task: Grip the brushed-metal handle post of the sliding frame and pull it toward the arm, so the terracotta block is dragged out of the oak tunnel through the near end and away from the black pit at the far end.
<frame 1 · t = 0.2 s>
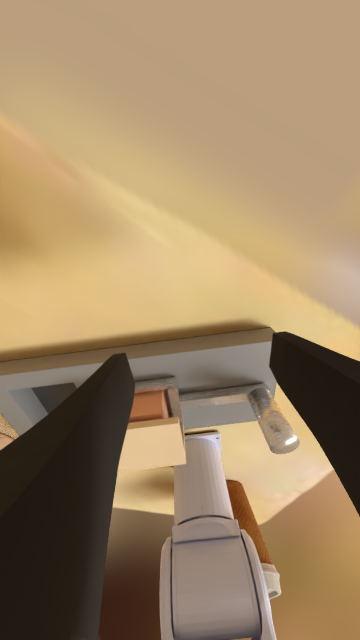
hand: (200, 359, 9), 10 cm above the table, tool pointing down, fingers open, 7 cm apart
terracotta block: (143, 401, 21), point 2 cm above the table, touching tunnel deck
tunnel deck: (146, 384, 23), on the table
disposable coffee cup: (226, 487, 36), on the table
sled: (188, 422, 18), point 6 cm above the table, slide at 0.0 cm
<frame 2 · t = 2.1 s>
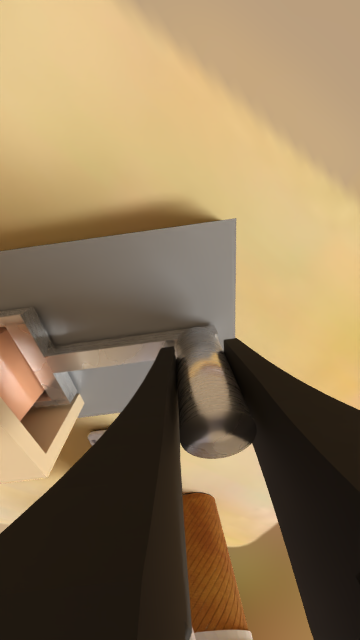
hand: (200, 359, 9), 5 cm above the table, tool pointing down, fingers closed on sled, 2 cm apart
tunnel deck: (23, 339, 14), on the table
disposable coffee cup: (193, 500, 27), on the table
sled: (37, 392, 8), point 6 cm above the table, slide at 0.0 cm, touching gripper
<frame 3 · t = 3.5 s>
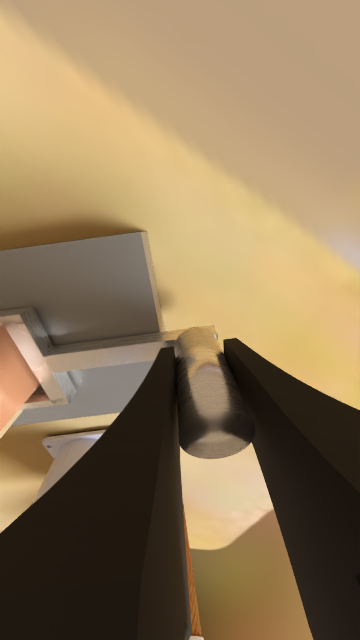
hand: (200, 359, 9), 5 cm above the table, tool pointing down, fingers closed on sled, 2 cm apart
disposable coffee cup: (162, 504, 27), on the table
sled: (36, 391, 8), point 6 cm above the table, slide at -4.5 cm, touching gripper, terracotta block
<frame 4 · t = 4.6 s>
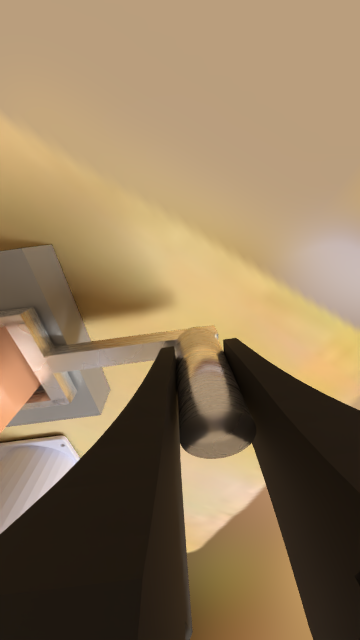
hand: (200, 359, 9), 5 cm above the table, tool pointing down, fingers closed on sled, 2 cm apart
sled: (37, 391, 8), point 6 cm above the table, slide at -10.2 cm, touching gripper
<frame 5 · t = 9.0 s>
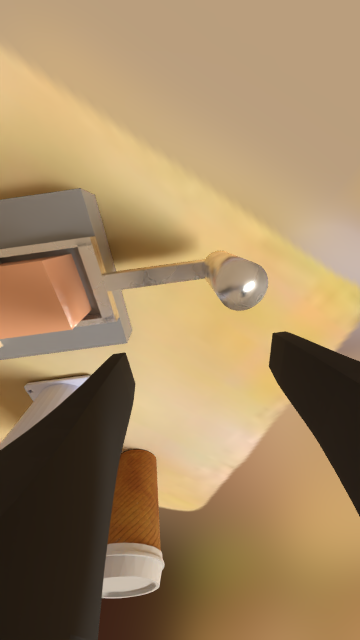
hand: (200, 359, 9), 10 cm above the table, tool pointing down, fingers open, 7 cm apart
terracotta block: (51, 287, 15), point 2 cm above the table, touching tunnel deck
disposable coffee cup: (137, 458, 30), on the table
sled: (105, 290, 12), point 6 cm above the table, slide at -11.0 cm
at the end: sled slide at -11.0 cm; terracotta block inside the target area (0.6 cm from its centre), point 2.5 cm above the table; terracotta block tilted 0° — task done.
